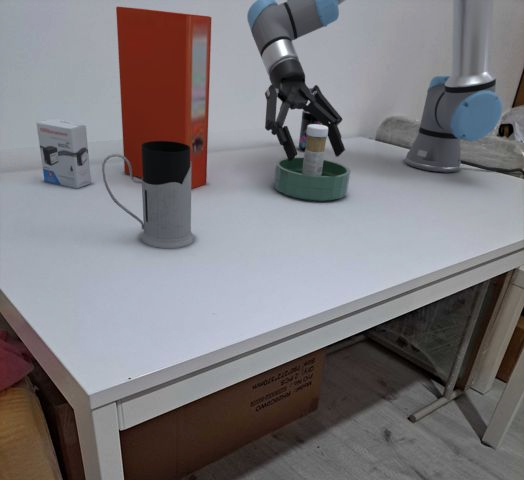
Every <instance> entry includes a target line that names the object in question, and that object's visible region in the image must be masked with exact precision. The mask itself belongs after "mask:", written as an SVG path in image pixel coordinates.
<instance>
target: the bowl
mask: <svg viewBox="0 0 524 480" xmlns="http://www.w3.org/2000/svg"><path fill="white" fill-rule="evenodd" d="M303 161H304V156H295V157H294V158H293V160H292V161H288V158H287V157H285V158H280V159H277V160H276V162H275V170H274V179H273V187H274V189H275V190H277V191H278V192H280V193H282V194H284V195H286V196H287V197H288V196H289V197H290V198H294V199H297V200H302V201H303V200H304V201H310V202H311V201H312V202H330V201H334V200H339V199H342V198H344V197H346V195H347V193H348V188H349V184H350V179H351V173H352V172H351V169H350V168H349V167H347V166H346V165H344V164H342V163H339V162H336V161H332V160H328V159H324V161H323V168H322V175H321V176H313V175H306V174H302V170H303Z"/></svg>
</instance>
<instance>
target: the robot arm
mask: <svg viewBox="0 0 524 480" xmlns="http://www.w3.org/2000/svg"><path fill="white" fill-rule="evenodd" d="M345 1H346V0H286V1H285V2H282V3H279V4H278V2H277V1H276V0H256V1H254V2H253V3H252V4H251V5H250V7H249V8H248V11H247V13H246V14H247V16H246V17H247V23H248V27H249V29H250V33H251V35H252V38H253V40H254V43H255V45H256V48H257V50H258V53H259V55H260V57H261V60H262V63H263V65H264V68H265V70H266V74H267V76H268V79H269V81H270V85H269V86H268V88H267V89H266V90H265V92H264V96H265V100H266V109H265V110H266V111H265V121H264V123H265V125H264V128H265V130H266V131H271V132H270V133H271V135H273V136H276V138H277V141H278V142H279V143H278V144H280V146H282V148H283V150H284V152H285V155H286V158H288V161H292V160H293V158H294V157H297V155H298V154H299V153H298V150H297V148H296V145H295V143H294V140H293V138H292V137H293V136H292V135H291V132H290V130H289V128H288V127H289V126H288V125H284V124H285V121H286V119H287V116H288V113H289V111H290V110H296V109H297V110H302V111H303V110H304V111H305V112H309V113H310V114H311V115H313V116H314V117H315V118H316V119H317V120H318V121H319V122H321V123H322V124H323V125H324V126H327V127H328V135H327V138H328V140H329V143H330V146H331V149H332V150H333V153H334V156H335V158H337V157H340V156H341V155H342V154H343V153H344V152H346V147H345V145H344V143H343V140H342V134H341V132H340V129H339V125H340V124H341V122H342V121H343V118H342V116H341V115H340V114H339V112H338V111H337V110H336V108H334V106H333V105H332V104H331V102H330V101H329V100H328V99H327V98H326V97H325V95H324V94H323V93H322V91H321V89H320V87H319V86H318V84H315V85H314V86H313V87H310V88H309V86H307V84H306V74H305V71H304V69H303V66H302V64H301V62H300V59H299V56H298V53H297V51H296V48H295V46H294V43H293V41H295V40H297V39H298V38H301V37H303V36H306V35H309V34H310V33H313V32H315V31H317V30H320V29H322V28H326V27H328V25H330V24H332V23H334V22H336V21H337V20H338V18H339V15H340V9H339V5H342V3H344V2H345ZM494 1H495V0H452V35H451V36H452V37H451V74H450V75H447V76H446V75H437V76H433V77H432V78H431V80H430V82H429V84H428V88H427V90H426V98H425V102H424V107H423V110H422V114H421V119H420V124H419V129H418V134H417V136H416V138H415V139H414V141H413V143H412V145H411V147H410V149H409V150H408V152H407V153H406V156H405V161H404V162H405V164H407V166H410V167H413V168H415V169H418V170H422V171H427V172H435V173H446V174H447V173H456V172H459V171H460V167H461V164H462V165H465V166H469V167H474V168H477V169H480V170H485V171H490V172H491V171H493V172H499V173H507V174H508V173H516V172H519V173H522V175H524V171H523V170H522V169H523V168H522V167H516V168H509V169H508V168H502V167H493V166H492V167H490V166H485V165H483V164H482V165H481V164H479V163H474V162H470V161H467V160H462V159H461V140H463V141H468V142H473V141H474V142H475V141H478V140H482V139H484V138H485V137H487V136H488V135H489V134H490V133H491V132H492V131H493V130H495V128H496V127H497V125H498V124H499V123H500V120H501V117H502V113H503V103H502V100H501V98H500V97H499V95H498V94H497V93H496V87H497V75H496V74H495V73H494V72H493V71H492V70H491V54H492V53H491V52H492V38H493V37H492V35H493V18H494V4H495V3H494ZM278 99H279V100H280V102H281V104H280V107H279V111H278V114H277V104H278ZM308 102H309V103H308ZM521 168H522V169H521Z"/></svg>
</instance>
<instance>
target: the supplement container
mask: <svg viewBox="0 0 524 480" xmlns="http://www.w3.org/2000/svg"><path fill="white" fill-rule="evenodd" d="M310 124H318V125H323V124H322V123H321V122H319V121H318V120H317V119H316V118H315V117H314V116H313V115H311V114H310V113H309V112H305V111H304V110H303V109H302V113H301V121H300V129H299V139H298V140H299V141H298V149H299V150H300V151H301V152H305V147H306V140H307V134H306V133H307V126H308V125H310Z"/></svg>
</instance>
